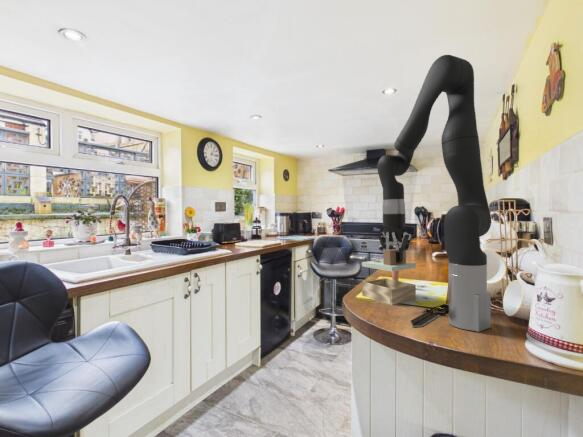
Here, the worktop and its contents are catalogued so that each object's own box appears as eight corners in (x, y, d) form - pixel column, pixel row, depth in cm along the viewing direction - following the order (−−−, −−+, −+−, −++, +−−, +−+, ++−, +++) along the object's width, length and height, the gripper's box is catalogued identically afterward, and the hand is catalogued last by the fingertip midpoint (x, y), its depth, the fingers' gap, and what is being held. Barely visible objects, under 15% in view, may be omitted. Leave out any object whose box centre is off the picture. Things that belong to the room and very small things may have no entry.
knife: (417, 331, 84) (417, 326, 84) (396, 324, 89) (396, 319, 89) (459, 311, 99) (459, 306, 99) (439, 306, 104) (439, 302, 104)
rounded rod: (399, 290, 125) (399, 260, 125) (396, 291, 123) (395, 261, 123) (394, 289, 127) (394, 259, 126) (391, 289, 125) (390, 260, 125)
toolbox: (415, 301, 109) (415, 284, 108) (392, 307, 102) (391, 289, 102) (384, 293, 120) (384, 277, 120) (361, 298, 114) (361, 281, 114)
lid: (416, 267, 108) (415, 249, 108) (392, 271, 102) (391, 251, 102) (384, 263, 120) (384, 246, 120) (362, 266, 114) (361, 248, 114)
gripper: (371, 213, 112) (372, 260, 113) (403, 212, 100) (404, 265, 100) (385, 213, 116) (386, 259, 116) (418, 212, 104) (419, 263, 104)
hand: (394, 261), depth 108 cm, fingers closed on lid, 3 cm apart
